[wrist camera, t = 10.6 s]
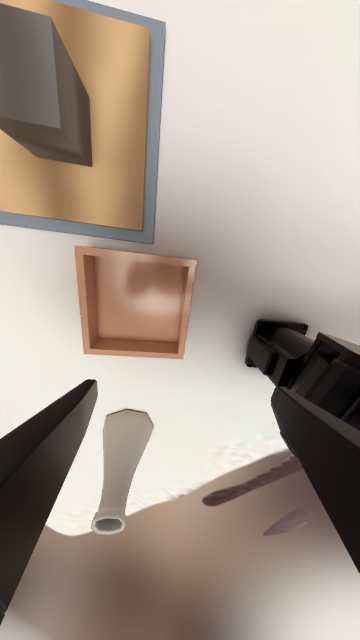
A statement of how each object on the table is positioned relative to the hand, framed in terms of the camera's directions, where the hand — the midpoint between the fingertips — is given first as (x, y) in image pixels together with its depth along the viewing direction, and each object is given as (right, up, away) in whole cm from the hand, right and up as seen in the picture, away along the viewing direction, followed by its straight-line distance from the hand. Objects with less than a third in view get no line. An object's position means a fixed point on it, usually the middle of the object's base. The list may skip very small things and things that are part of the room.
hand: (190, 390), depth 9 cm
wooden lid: (-9, +18, +5) cm, 21 cm away
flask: (-8, -12, +17) cm, 22 cm away
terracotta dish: (-5, +5, +10) cm, 13 cm away
